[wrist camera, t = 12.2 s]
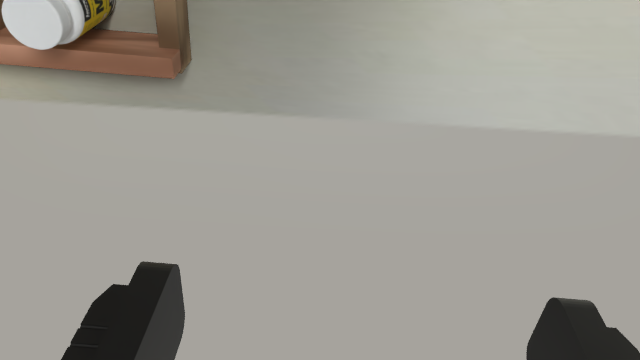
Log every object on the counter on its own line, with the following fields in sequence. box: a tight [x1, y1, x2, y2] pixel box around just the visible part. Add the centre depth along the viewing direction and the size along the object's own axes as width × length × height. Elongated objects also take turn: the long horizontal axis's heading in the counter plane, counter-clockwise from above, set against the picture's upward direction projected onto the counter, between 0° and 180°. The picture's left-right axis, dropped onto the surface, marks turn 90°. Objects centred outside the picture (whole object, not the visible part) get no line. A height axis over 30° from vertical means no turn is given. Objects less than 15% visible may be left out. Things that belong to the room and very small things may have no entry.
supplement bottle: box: [2, 0, 115, 50], centre depth 37 cm, size 5×5×8 cm
